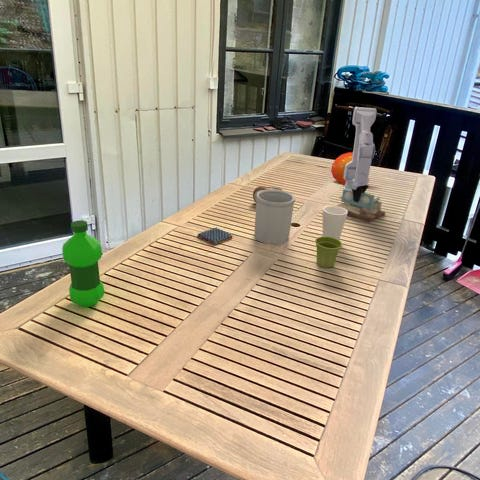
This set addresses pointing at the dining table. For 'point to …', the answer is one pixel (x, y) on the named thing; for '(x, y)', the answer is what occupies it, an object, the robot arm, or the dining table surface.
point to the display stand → (364, 211)
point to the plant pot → (327, 250)
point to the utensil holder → (273, 216)
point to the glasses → (364, 201)
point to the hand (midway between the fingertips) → (357, 200)
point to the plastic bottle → (83, 265)
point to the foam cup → (333, 221)
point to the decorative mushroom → (341, 167)
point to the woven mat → (214, 236)
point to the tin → (261, 190)
